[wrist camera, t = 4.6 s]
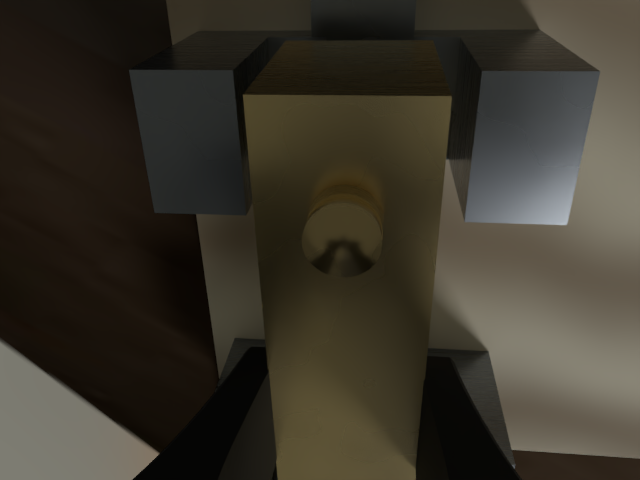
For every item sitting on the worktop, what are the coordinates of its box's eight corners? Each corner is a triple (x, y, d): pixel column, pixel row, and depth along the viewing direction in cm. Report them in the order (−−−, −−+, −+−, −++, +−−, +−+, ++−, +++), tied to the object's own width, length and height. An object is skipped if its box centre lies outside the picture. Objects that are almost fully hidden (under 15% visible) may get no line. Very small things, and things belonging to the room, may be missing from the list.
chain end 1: (521, 147, 15) (567, 224, 11) (211, 142, 16) (154, 212, 12) (548, -26, 13) (616, -4, 9) (192, -21, 14) (116, 1, 10)
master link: (400, 468, 18) (404, 635, 14) (306, 461, 18) (283, 623, 14) (432, 40, 11) (458, 113, 7) (285, 40, 12) (229, 111, 8)
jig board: (687, 444, 21) (697, 462, 20) (231, 414, 22) (226, 429, 22) (895, -47, 13) (923, -46, 12) (172, -36, 15) (161, -34, 14)
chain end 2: (474, 441, 21) (493, 562, 17) (245, 425, 21) (212, 537, 18) (488, 351, 19) (515, 464, 15) (234, 337, 19) (195, 442, 16)
